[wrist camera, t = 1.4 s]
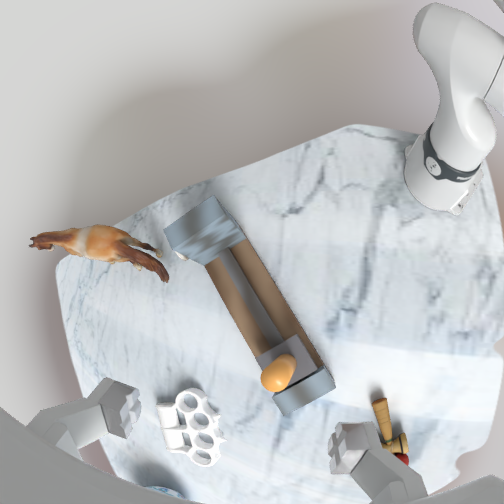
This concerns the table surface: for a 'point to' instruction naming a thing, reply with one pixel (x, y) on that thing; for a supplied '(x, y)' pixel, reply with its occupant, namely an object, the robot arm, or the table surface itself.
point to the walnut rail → (266, 298)
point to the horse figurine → (103, 246)
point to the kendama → (390, 431)
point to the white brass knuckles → (190, 427)
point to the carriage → (285, 364)
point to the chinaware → (166, 491)
